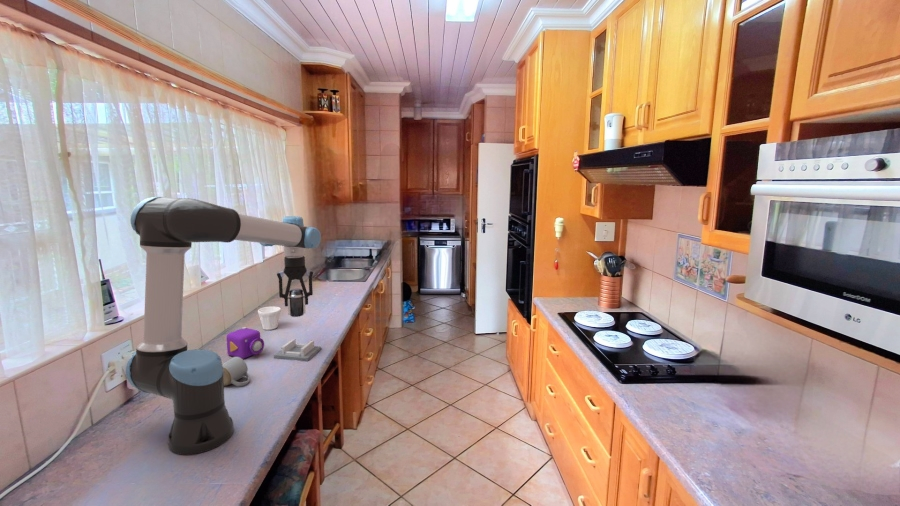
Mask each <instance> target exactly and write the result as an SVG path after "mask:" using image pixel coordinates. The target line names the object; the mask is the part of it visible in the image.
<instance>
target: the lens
mask: <svg viewBox="0 0 900 506" xmlns="http://www.w3.org/2000/svg"><path fill="white" fill-rule="evenodd" d="M303 296H304V292H303V289H302V288H292V289H290V290H289V294H288V297H290V315H289V316H290V317H291V318H292V317H293V318H296V317H297V318H298V317H302V316H304V312H303Z"/></svg>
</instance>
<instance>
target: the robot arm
mask: <svg viewBox="0 0 900 506" xmlns="http://www.w3.org/2000/svg"><path fill="white" fill-rule="evenodd" d="M130 225H131V228H132V230H133V231H134V232H135V234H137V235H138V236H139V247H140V248H142V250H143V251H145V252H146V260H145V286H144V287H145V289H144V290H145V291H144V293H145V294H144V317H143V339H142V341H141V342H139V344H137V345H136V349H135V350H136V351H135V352H134V353H132V355H131V356H132V357H131V358H129V359H128V360H127V363H126V365H125V378H126V380H127V381H128V383H129V385H131V386H132V387H134V388H135V389H137V390H138V391H141V392H142V393H147V394H153V395H156V396H160V397H163V398H166V399H170V400H172V404H173V405H172V407H173V413H174V414H173V415H174V416H173V417H174V418H173V421H172V424H171V427H170V431H169V434H168V437H167V438H168V448H169V450H170V451H171V452H173V453H174V454H178V455H183V456H184V455H187V456H188V455H197V454H201V453H205V452H207V451H210V450H213V449H215V448H217V447H219V446H221V445H223V444H224V443H225V442H227V441H228V440H229V439H230V438H231V437H232V435H233V433H234V431H235V430H234V421H233V419H232V417H231V416H230V414H229V412H228V409H227V406H226V405H225V401H226V400H225V386H224V381H223V366H222V364H223V363H222V358H221V357H220V355H219V354H218V353H217V352H215V351H213V350H209V349H203V348H202V349H188V341H187V340H186V339H184V338H183V337H182V330H183V307H184V305H183V304H184V303H183V301H184V283H185V282H184V280H185V278H184V277H185V259H186V257H185V256H186V255H185V254H186V253H187V252H188V251H189V250H190V249H192V243H216V242H217V243H231V242H233V241H240V242H241V241H243V242H249V243H259V244H260V245H261V246H262V247H273V246H281V247H283V255H284V259H283V260H284V269H283V270H282V271H277V272H276V276H277V279H278V292H279V293H278V295H279V298H280V299H281V298H282V299H284V307H286V308H287V311H288V313H287V315H288V316H290V297H289V291H290V290H291V289H290V288H291V285H292V282H293V281H294V280H299V283H300V286H301V289H302V290H303V312H304V314H307V313H306V312H307V311H306V306H307V305H309V297H310V296H313V294H314V293H313V275H314V270H312V269H311V270H310V269H307V267H306V257H305V254H306V253H305V252H306V251H305V249H307V250H308V249H313V250H314V249H316V248H318V247H319V245H320V244H321V242H322V241H321V240H322V236H321V235H322V234H321V232H320V230H319V229H318V228H317V227H312V226H304V225H305V224H304V219H303V217H302V216H298V215H297V216H296V215H295V216H294V215H292V216H283V217H282V220H281V221H278V220H272V219H267V218H261V217H256V216H252V215H247V214H241V213H239V212H238V211H237V210H235V209H233V208H229V207H225V206H220V205H217V204H213V203H210V202H207V201H203V200H200V199H196V198H185V197H183V198H182V197H170V196H153V197H148V198H144V199H142V200H141V201H139V203H137V205H135V206H134V208H133V210H132V211H131V215H130ZM305 274H306V275H307V277H308V291H307V287H306V285H305V282H304V279H303V277H304V276H305ZM284 275H285V276H286V278H288V279H287V284H286V288H285V292H284V290H283V278H284Z"/></svg>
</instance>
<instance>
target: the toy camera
mask: <svg viewBox="0 0 900 506" xmlns="http://www.w3.org/2000/svg"><path fill="white" fill-rule="evenodd" d="M264 347H265V341H264V339H263V338H262V337H261V332H260V331H259V330H256V329H252V328H248V327H247V326H243V327H241V328H239V329H237V330H235V331H231V332H229V333H227V334H226V352H227V355H229V356H230V357H240V358H241V359H243V360H244V359H246V358H249V357H251V356H253V355H259V354H260V353H261V352H262V351H263V349H264Z"/></svg>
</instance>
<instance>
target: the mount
mask: <svg viewBox="0 0 900 506" xmlns="http://www.w3.org/2000/svg"><path fill="white" fill-rule="evenodd" d="M296 341H297V340H296V338H292V339H290V340H288V342H286V343H285V344H283V345H282V346H281V347H280V349H281V350H279V351H278V352H276V353H275V354H274V355H273V358H274V359H278V360H279V359H281V360H290V361H292V360H293V361H301V362H308V361H310V360H311V359H312V358H313V357H314V356H315V355H316V354H317V353H319V352H320V351H321V349H322V346H319V345H315V340H310V341H308V342H307V343H297V342H296Z"/></svg>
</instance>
